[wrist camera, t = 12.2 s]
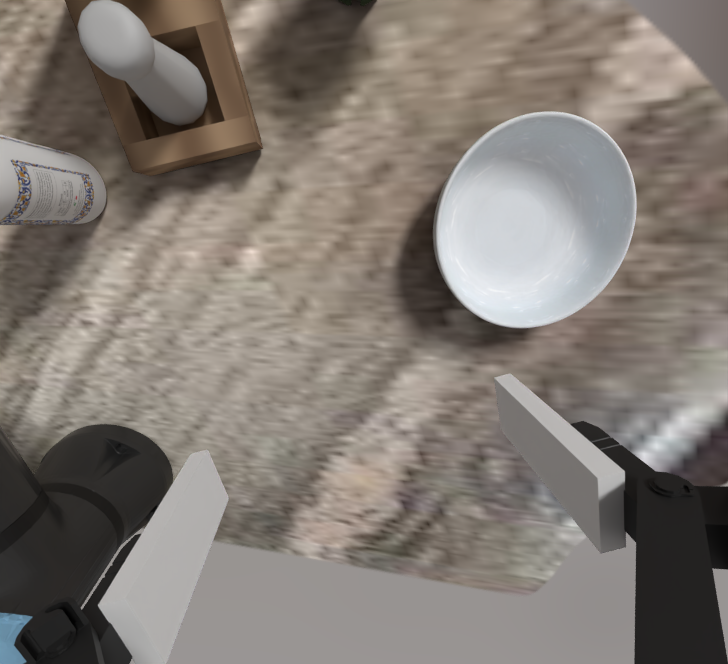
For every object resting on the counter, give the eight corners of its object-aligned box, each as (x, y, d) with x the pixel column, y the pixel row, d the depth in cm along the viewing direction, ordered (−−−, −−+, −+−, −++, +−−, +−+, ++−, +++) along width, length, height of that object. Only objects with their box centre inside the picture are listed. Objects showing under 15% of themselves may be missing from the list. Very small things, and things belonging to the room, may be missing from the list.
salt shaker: (165, 136, 37) (79, 92, 24) (144, 70, 35) (39, -13, 22) (222, 124, 37) (166, 74, 24) (204, 58, 35) (133, -31, 23)
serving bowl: (627, 206, 43) (679, 204, 36) (510, 343, 47) (538, 363, 41) (502, 83, 38) (537, 55, 32) (384, 248, 42) (393, 252, 36)
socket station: (152, 176, 38) (18, 142, 22) (77, -21, 33) (-172, -257, 17) (263, 149, 38) (212, 95, 22) (205, -52, 33) (82, -316, 17)
